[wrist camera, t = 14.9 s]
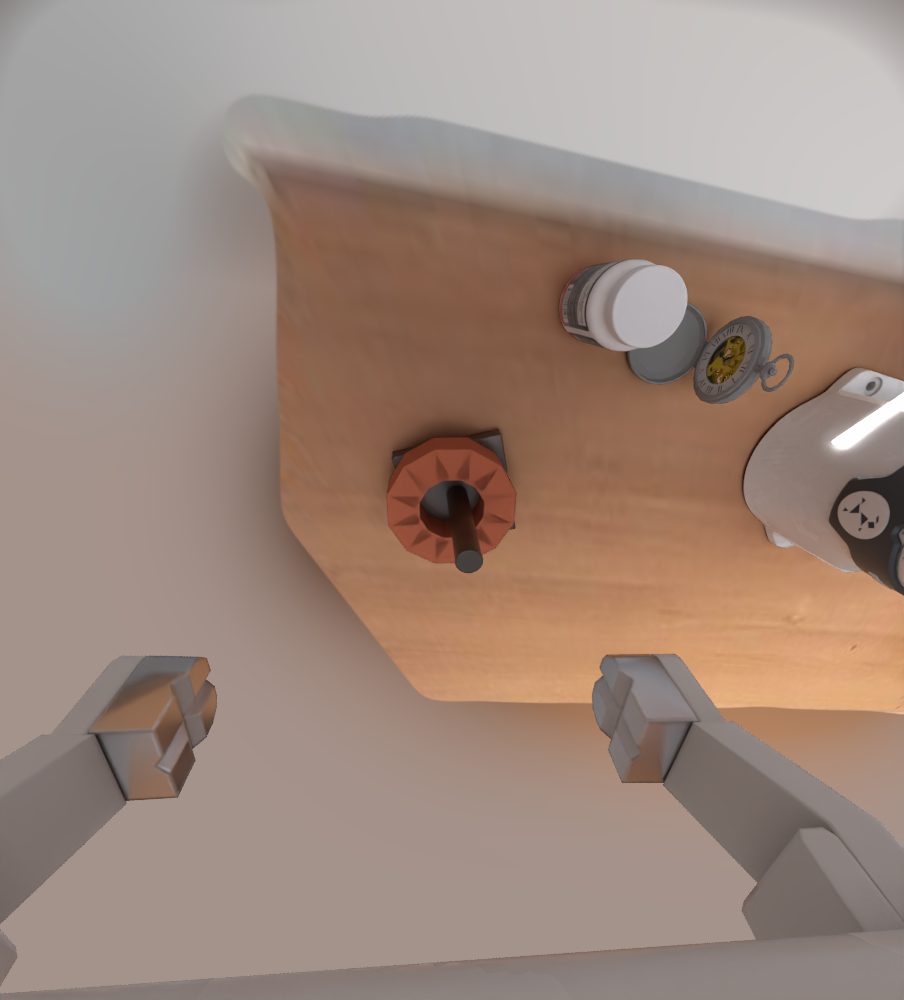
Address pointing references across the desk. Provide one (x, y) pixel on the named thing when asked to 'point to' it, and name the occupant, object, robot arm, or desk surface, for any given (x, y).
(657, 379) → the pocket watch
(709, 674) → the desk surface
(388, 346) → the desk surface
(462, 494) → the peg on square base
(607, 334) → the pill bottle
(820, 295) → the desk surface
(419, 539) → the ring
